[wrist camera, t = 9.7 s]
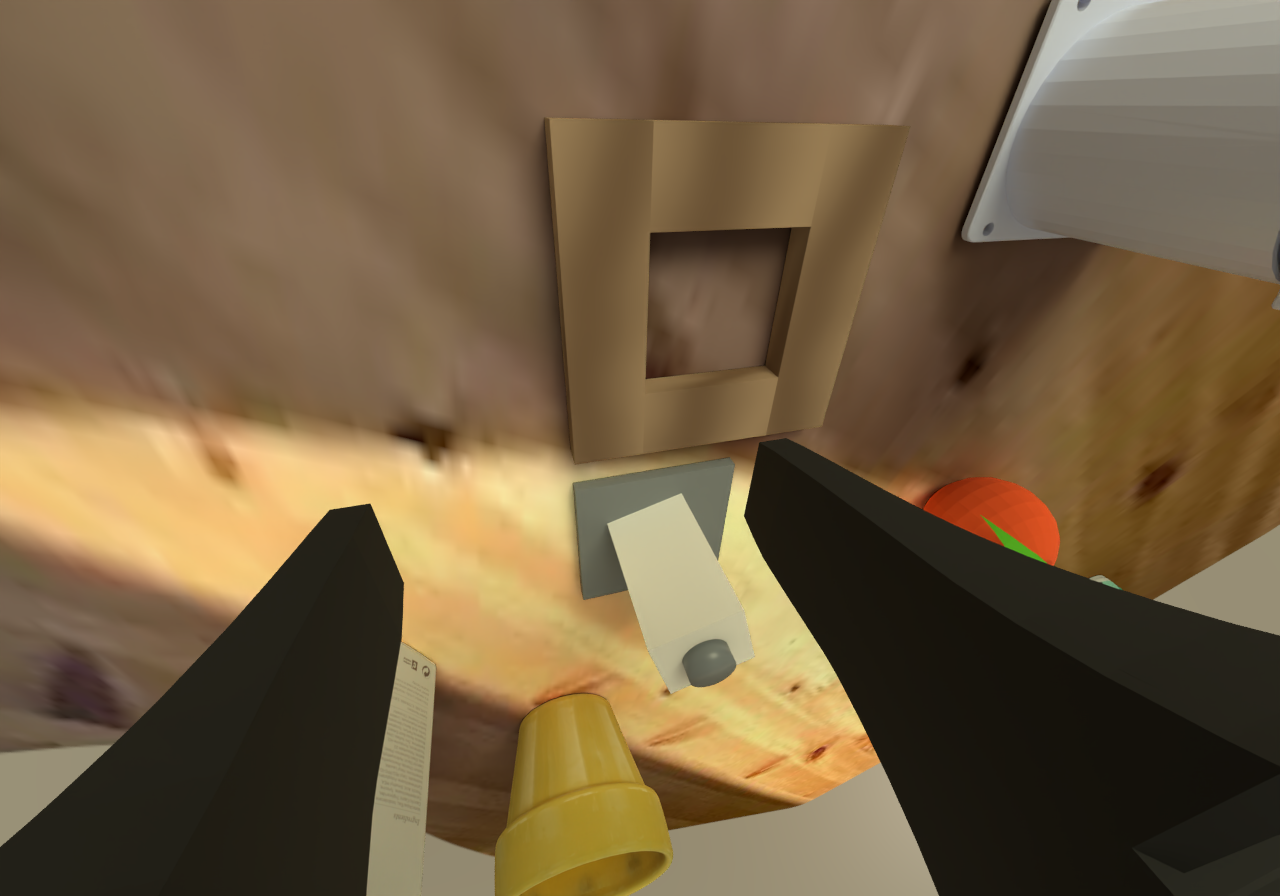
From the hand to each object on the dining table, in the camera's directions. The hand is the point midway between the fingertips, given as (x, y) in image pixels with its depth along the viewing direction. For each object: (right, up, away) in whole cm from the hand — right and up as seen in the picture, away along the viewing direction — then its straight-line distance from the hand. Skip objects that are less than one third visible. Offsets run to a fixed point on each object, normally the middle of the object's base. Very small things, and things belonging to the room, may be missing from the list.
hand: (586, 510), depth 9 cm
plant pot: (-5, -18, +26) cm, 32 cm away
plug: (+2, -3, +16) cm, 16 cm away
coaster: (+2, -3, +16) cm, 17 cm away
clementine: (+21, -2, +22) cm, 31 cm away
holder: (+4, +7, +10) cm, 13 cm away
